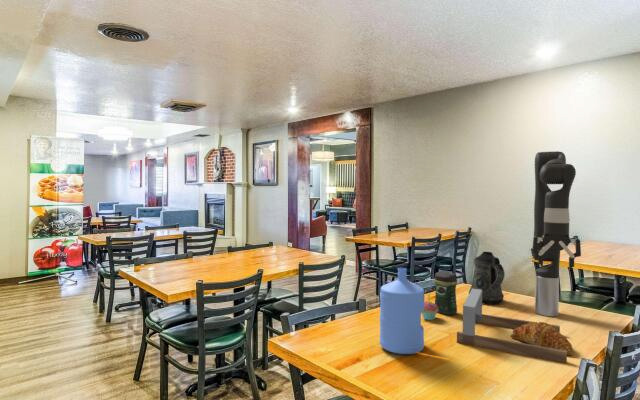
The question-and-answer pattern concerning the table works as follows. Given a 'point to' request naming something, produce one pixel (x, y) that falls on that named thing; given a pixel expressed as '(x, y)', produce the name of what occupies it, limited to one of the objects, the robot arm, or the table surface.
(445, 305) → the coffee jar
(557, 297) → the robot arm
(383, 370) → the table surface
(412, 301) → the water jug
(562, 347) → the pastry
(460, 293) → the table surface
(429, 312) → the cupcake
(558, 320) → the table surface
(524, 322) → the two-rail open rack
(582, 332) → the table surface
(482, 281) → the beer stein
